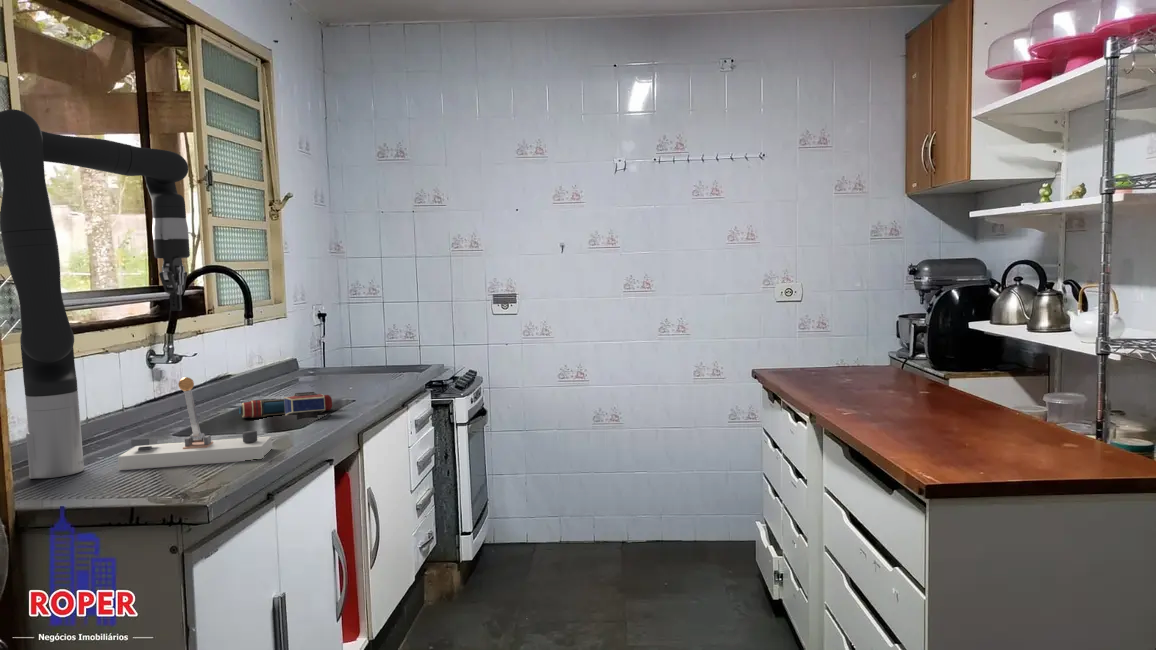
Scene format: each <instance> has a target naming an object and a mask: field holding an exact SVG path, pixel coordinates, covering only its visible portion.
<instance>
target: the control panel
mask: <svg viewBox="0 0 1156 650" xmlns="http://www.w3.org/2000/svg"><path fill="white" fill-rule="evenodd" d="M211 435H212V434H209V435H207V434H206V435H205V437H204V442H197V443H192V442H191V436H186V437H185V438H184V441H183V442H170V443H168V442H167V443H157V444H155V445H143V446H133V447H132V448H130V449H129V450H127V451H125V452H124V453H122V454H120V455H118V457H117V459H118V470H119V471H127V470H128V471H129V470H142V469H153V468H157V469H158V468H169V467H181V466H194V465H207V464H209V465H210V464H220V463H224V464H225V463H236V462H246V461H245V460H250V459H254V458H262V457H263V456H264V455H265V454H266V453H268V452H269V451H270V450H271V449H272V450H273V439H272V436H271V435H270V436H268V435H267V436H257V441H254V442H243V437H242V438H241V437H240V438H238V437H237V438H228V439H227V438H225V439H212V437H211ZM272 450H271V451H272ZM271 451H270V452H271ZM270 452H269V453H270ZM269 453H268V454H269Z"/></svg>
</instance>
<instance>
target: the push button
mask: <svg viewBox="0 0 1156 650" xmlns="http://www.w3.org/2000/svg"><path fill="white" fill-rule="evenodd" d="M257 437H258V432H257V430H248V431H246V430H245V431H243V432H242V438H243V442H254V441H257Z"/></svg>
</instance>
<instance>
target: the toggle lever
mask: <svg viewBox="0 0 1156 650" xmlns="http://www.w3.org/2000/svg"><path fill="white" fill-rule="evenodd" d="M177 385H178V388H179V389H180V391H183V393H184V399H185V403H186V408H187V413H188V417H189V421H190V426H191V430H192V433H191V434H190V437H191V442H192V443H197V442H204V437H205V436H206V434H205V433H204V432H201V429H200V424H199V419H198V415H197V410H196V409H197V408H196V405H195V401H194V395H193V391H192V389H194V386H195V382H194V380H193V379H192V378H190V377H187V376H185V377H182V378H180V379H179V381H178V384H177Z"/></svg>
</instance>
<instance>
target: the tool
mask: <svg viewBox="0 0 1156 650" xmlns="http://www.w3.org/2000/svg"><path fill="white" fill-rule="evenodd" d="M332 408H333V399H332V397H331V396H330V395H329V394H323V393H316V392H315V391H306V392H305V391H303V392H294V394H293V395H292V396H284V397H283V399H272V400H265V399H263V400H262V399H254V400H252V399H251V400H250V401H246V402H242V403H241V406H239V407H238V412H239V415H241V418H247V419H248V418H249V419H256V418H266V417H270V416H277V415H278V416H279V415H284V416H287V417H288V416H296V420H302V419H311V418H313V419H314V418H315V419H317V418H318V414H322V413H323V412H327V411H330V410H331V409H332Z"/></svg>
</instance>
